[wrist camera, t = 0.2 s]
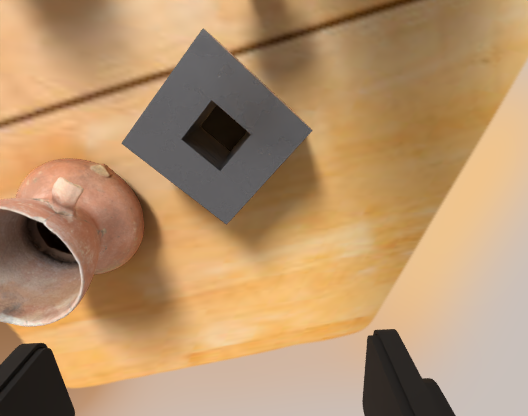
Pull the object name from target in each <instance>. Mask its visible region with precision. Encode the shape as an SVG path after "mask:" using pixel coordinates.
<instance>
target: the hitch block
mask: <svg viewBox="0 0 528 416" xmlns="http://www.w3.org/2000/svg"><path fill="white" fill-rule="evenodd" d="M217 105H218V106H219V107H220V108H221V109H223V110H224V111H225V112H226V113H227V114H228V115H229V116H230V117H232V118H233V119H234V120H235V121H236V122H237V123H238V124H240V125H241V126H242V127H243V128H244V129H245V130H246V131H247V132H246V133H245V135H244V136H243V137H242V138H241V139H240V140H239V142H238V143H237V144H236V145H235V146H234V148H233V149H232V150H231V151H229V150H228V149H227V148H226V147H224V146H223V145H222V144H221V143H220V142H218V141H217V140H216V139H215V138H214V137H212V136H211V135H210V134H209V133H208V132H207V131H205V130H204V129H203V128H202V127H201V125H202V124H203V122H204V121H205V120H206V118H207V117H208V116H209V115H210V113H211V112H212V111H213V110H214V108H215V107H216V106H217ZM311 132H312V130H311V128H310V127H309V126H308V125H307V124H306V123H305V122H304V121H303V120H302V119H301V118H300V117H299V116H298V115H297V114H296V113H294V112H293V111H292V110H291V109H290V108H289V107H288V106H287V105H286V104H285V103H284V102H283V101H282V100H281V99H280V98H278V97H277V96H276V95H275V94H274V93H273V92H272V91H271V90H270V89H269V88H268V87H267V86H266V85H265V84H263V83H262V82H261V81H260V80H259V79H258V78H257V77H256V76H255V75H254V74H253V73H252V72H251V71H250V70H249V69H247V68H246V67H245V66H244V65H243V64H242V63H241V62H240V61H239V60H238V59H237V58H236V57H235V56H234V55H233V54H231V53H230V52H229V51H228V50H227V49H226V48H225V47H224V46H223V45H222V44H221V43H220V42H219V41H217V40H216V39H215V38H214V37H213V36H212V35H210V34H209V33H208V32H207V31H206V30H205V29H202V30H201V32H200V33H199V35H198V36H197V37H196V39H195V40H194V42H193V43H192V44H191V46H190V47H189V49H188V50H187V52H186V53H185V54H184V56H183V57H182V59H181V60H180V61H179V63H178V64H177V66H176V67H175V68H174V70H173V71H172V73H171V74H170V76H169V77H168V78H167V80H166V81H165V83H164V84H163V85H162V87H161V88H160V90H159V91H158V92H157V94H156V95H155V97H154V98H153V100H152V101H151V102H150V104H149V105H148V107H147V108H146V109H145V111H144V112H143V114H142V115H141V116H140V118H139V119H138V121H137V122H136V123H135V125H134V126H133V128H132V129H131V131H130V132H129V133H128V135H127V136H126V138H125V139H124V140H123V142H122V144H123V145H124V146H125V147H127V148H128V149H129V150H131V151H132V152H133V153H134V154H136V155H137V156H138V157H140V158H141V159H142V160H144V161H145V162H146V163H147V164H149V165H150V166H151V167H153V168H154V169H155V170H156V171H158V172H159V173H160V174H162V175H163V176H164V177H166V178H167V179H168V180H169V181H171V182H172V183H173V184H175V185H176V186H177V187H179V188H180V189H181V190H182V191H184V192H185V193H186V194H188V195H189V196H190V197H191V198H193V199H194V200H195V201H197V202H198V203H199V204H201V205H202V206H203V207H204V208H206V209H207V210H208V211H210V212H211V213H212V214H214V215H215V216H216V217H217V218H219V219H220V220H221V221H223V222H224V223H225V224H226V225H227V224H228V222H229V221H230V220H231V219H232V218H233V217H234V216H235V215H236V214H237V213H238V212H239V210H240V209H241V208H242V207H243V206H244V205H245V204H246V203H247V202H248V201H249V199H250V198H251V197H252V196H253V195H254V194H255V193H256V192H257V191H258V190H259V189H260V187H261V186H262V185H263V184H264V183H265V182H266V181H267V180H268V179H269V178H270V176H271V175H272V174H273V173H274V172H275V171H276V170H277V169H278V168H279V167H280V165H281V164H282V163H283V162H284V161H285V160H286V159H287V158H288V157H289V156H290V155H291V153H292V152H293V151H294V150H295V149H296V148H297V147H298V146H299V145H300V144H301V142H302V141H303V140H304V139H305V138H306V137H307V136H308V135H309V134H310V133H311Z"/></svg>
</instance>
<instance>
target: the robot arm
mask: <svg viewBox="0 0 528 416" xmlns="http://www.w3.org/2000/svg"><path fill="white" fill-rule="evenodd" d="M363 410H364V414H365V416H455V414H454V412H453V411H452V409H451V407H450V405H449V404H448V402H447V400H446V398H445V396H444V395H443V393H442V392H441V390H440V388H439V386H438V385H437V383H436V382H435V381H434V380H433V379H429V378H427V379H426V378H425V379H422V378H421V376H420V374H419V372H418V370H417V368H416V367H415V365H414V362H413V361H412V359H411V357H410V355H409V353H408V351H407V349H406V347H405V345H404V344H403V342H402V340H401V338H400V336H399V334H398V332H397V331H396V330H395V329H389V330H388V329H387V330H375V331H374V334H373V336H368V339H367V352H366V364H365V376H364V391H363ZM0 416H75V411H74V408H73V405H72V402H71V400H70V397H69V395H68V392H67V389H66V387H65V384H64V381H63V379H62V376H61V373H60V371H59V368H58V366H57V363H56V360H55V358H54V355H53V352H52V350H51V349H50V348H48V347H47V346H46V344H44V343H32V344H21V345H19V346H18V347H17V348H16V349H15V350H14V351H13V352H12V353H11V354H10V355H9V356H8V357H7V358H6V359H5V361H4V362H3V363H2V364H1V365H0Z"/></svg>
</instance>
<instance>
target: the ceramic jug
mask: <svg viewBox="0 0 528 416" xmlns="http://www.w3.org/2000/svg"><path fill="white" fill-rule="evenodd" d="M143 234H144V221H143V211H142V208H141V205H140V202H139V200H138V198H137V196H136V195H135V193H134V192H133V190H132V189H131V188H130V187H129V185H128V184H127V183H126V182H125V181H124V180H123V179H122V178H121V177H119V176H118V175H117V174H116V173H115V172H114V171H113V170H111V169H110V168H109V167H108V166H107V165H105V164H97V163H94V162H91V161H86V160H81V159H58V160H53V161H50V162H47V163H44V164H42V165H40V166H38V167H37V168H35V169H34V170H32V171H31V172H30V173H29V174H28V175H27V176H26V178H25V179H24V180H23V182H22V183H21V185H20V187H19V189H18V191H17V195H16V198H11V199H3V200H0V321H1V322H5V323H10V324H15V325H20V326H40V325H46V324H50V323H53V322H55V321H58V320H59V319H61V318H64V317H65V316H67V315H68V314H69V313H70V312H71V311H73V310H74V308H75V307H76V306H77V305H78V304H79V302H80V301H81V299H82V298H83V296H84V295H85V293H86V291H87V289H88V287H89V285H90V283H91V281H92V278H93V275H94V274H102V273H106V272H109V271H112V270H114V269H117V268H119V267H120V266H122V265H123V264H125V263H126V262H127V261H129V260H130V259H131V258H132V257H133V255H134V254H135V253H136V251H137V250H138V248H139V246H140V244H141V241H142V239H143Z"/></svg>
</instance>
